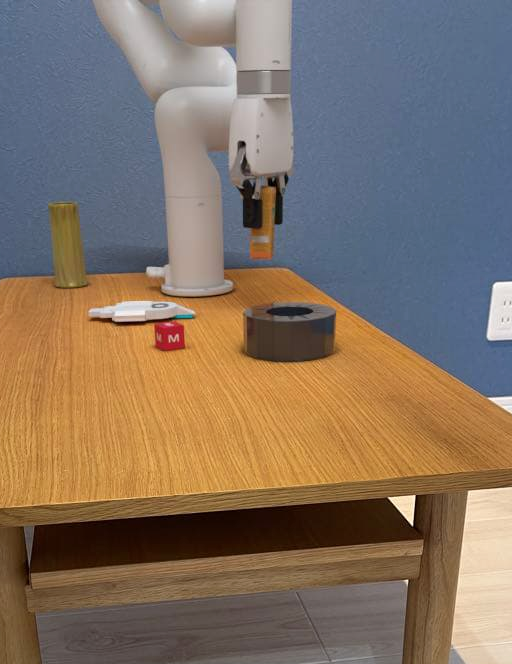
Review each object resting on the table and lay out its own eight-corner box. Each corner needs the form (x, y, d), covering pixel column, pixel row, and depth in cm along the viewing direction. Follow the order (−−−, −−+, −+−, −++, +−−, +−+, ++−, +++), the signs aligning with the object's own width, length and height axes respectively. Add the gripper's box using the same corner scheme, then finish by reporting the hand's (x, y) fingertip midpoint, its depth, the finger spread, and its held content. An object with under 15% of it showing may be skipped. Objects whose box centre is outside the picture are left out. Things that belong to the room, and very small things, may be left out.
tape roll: (236, 360, 106) (235, 320, 104) (253, 338, 117) (252, 301, 114) (329, 363, 104) (330, 321, 102) (338, 340, 114) (339, 302, 112)
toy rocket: (84, 326, 126) (83, 310, 125) (96, 313, 135) (94, 298, 134) (192, 324, 125) (192, 308, 124) (197, 311, 134) (196, 296, 133)
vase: (95, 283, 159) (87, 201, 152) (72, 289, 154) (63, 205, 148) (70, 281, 162) (61, 201, 155) (47, 286, 157) (38, 204, 151)
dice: (185, 348, 113) (183, 325, 112) (164, 351, 112) (162, 328, 110) (176, 343, 115) (174, 321, 114) (155, 346, 114) (154, 323, 113)
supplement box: (272, 259, 127) (272, 187, 122) (249, 259, 128) (249, 187, 123) (275, 255, 130) (276, 185, 125) (253, 255, 131) (253, 185, 126)
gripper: (277, 86, 126) (275, 217, 135) (203, 87, 115) (207, 230, 123) (319, 86, 122) (315, 221, 130) (247, 86, 110) (248, 235, 119)
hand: (262, 224), depth 127 cm, fingers closed on supplement box, 4 cm apart
